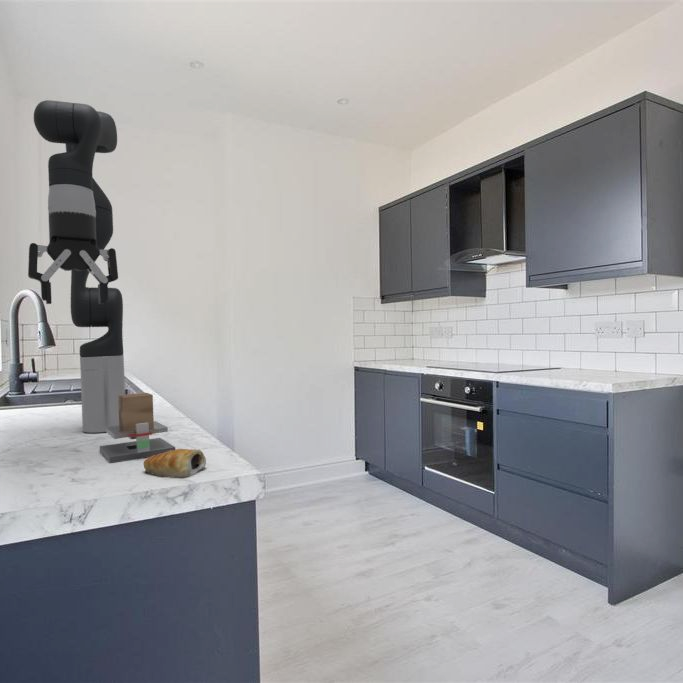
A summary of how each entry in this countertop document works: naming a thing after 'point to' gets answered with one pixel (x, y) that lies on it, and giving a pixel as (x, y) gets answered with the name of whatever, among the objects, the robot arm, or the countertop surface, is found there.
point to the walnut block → (135, 410)
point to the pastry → (176, 463)
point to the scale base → (136, 447)
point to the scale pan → (134, 431)
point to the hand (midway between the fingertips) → (75, 303)
